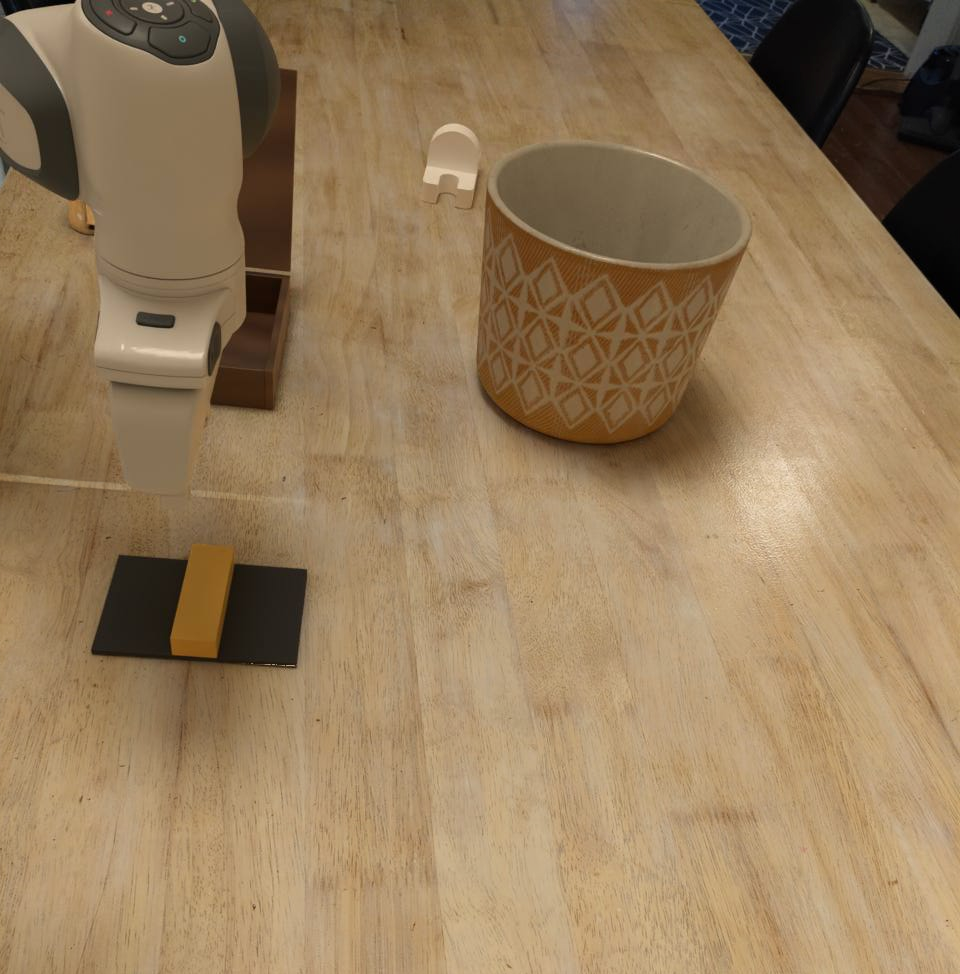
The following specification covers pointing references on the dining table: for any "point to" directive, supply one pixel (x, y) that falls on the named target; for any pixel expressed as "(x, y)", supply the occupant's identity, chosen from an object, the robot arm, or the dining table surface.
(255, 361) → the box
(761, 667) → the dining table surface
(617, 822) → the dining table surface
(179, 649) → the stick of butter
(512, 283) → the planter
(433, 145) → the slotted bracket
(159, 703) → the dining table surface
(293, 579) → the mat
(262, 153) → the lid
